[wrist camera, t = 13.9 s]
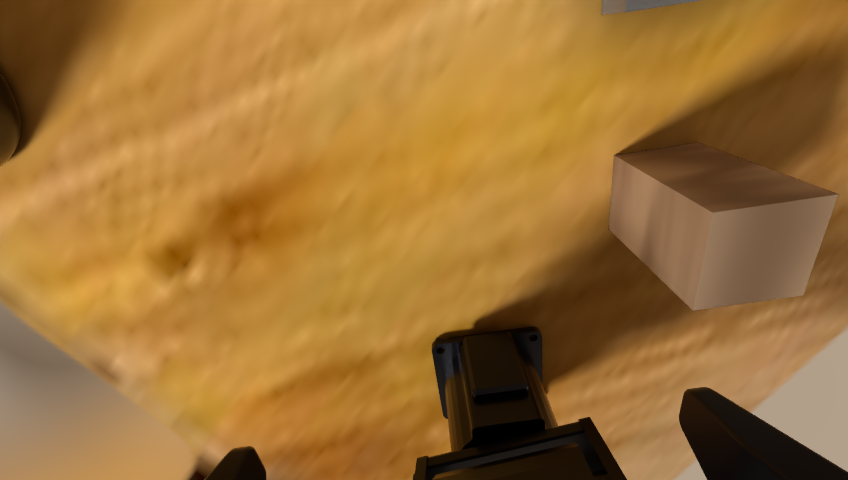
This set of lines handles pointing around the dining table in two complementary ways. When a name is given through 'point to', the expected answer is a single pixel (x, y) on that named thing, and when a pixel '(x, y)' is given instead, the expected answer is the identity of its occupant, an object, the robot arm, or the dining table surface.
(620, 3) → the grey stepped square base
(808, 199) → the beige rectangular prism
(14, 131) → the supplement bottle
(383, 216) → the dining table surface
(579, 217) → the dining table surface
